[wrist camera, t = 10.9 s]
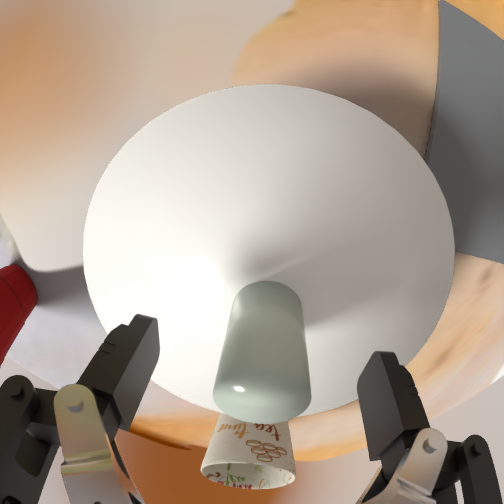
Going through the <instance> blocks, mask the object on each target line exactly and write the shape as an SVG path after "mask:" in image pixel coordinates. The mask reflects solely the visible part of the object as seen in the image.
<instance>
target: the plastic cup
mask: <svg viewBox="0 0 504 504" xmlns="http://www.w3.org/2000/svg"><path fill="white" fill-rule="evenodd" d="M36 302H37V294H36V289H35V287H34V285H33V283H32V281H31V279H30V278H29V276H28V275H27V273H26V272H25V271H24V270H23V269H22V268H21V267H19V266H17V265H15V264H14V265H10V266H5V267H3V268H1V269H0V366H1V364H2V363H3V361H4V357H5V356H6V354H7V352H8V350H9V349H10V347H11V345H12V343H13V342H14V340H15V338H16V337H17V335H18V333H19V332H20V330H21V328H22V327H23V325H24V324H25V321H26V319H27V318H28V316H29V315H30V313H31V312H32V310H33V309H34V306H35V304H36Z"/></svg>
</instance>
